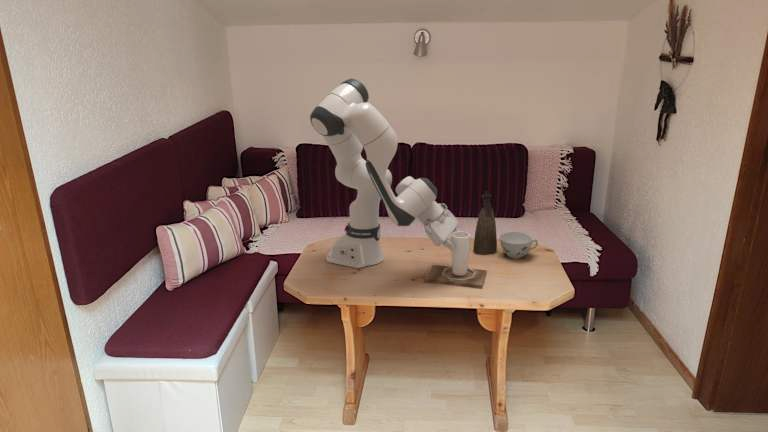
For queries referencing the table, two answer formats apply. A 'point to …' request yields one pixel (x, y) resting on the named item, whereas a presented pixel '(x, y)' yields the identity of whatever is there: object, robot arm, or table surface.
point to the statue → (485, 229)
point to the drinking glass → (460, 252)
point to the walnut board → (456, 277)
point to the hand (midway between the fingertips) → (457, 244)
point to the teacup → (516, 244)
